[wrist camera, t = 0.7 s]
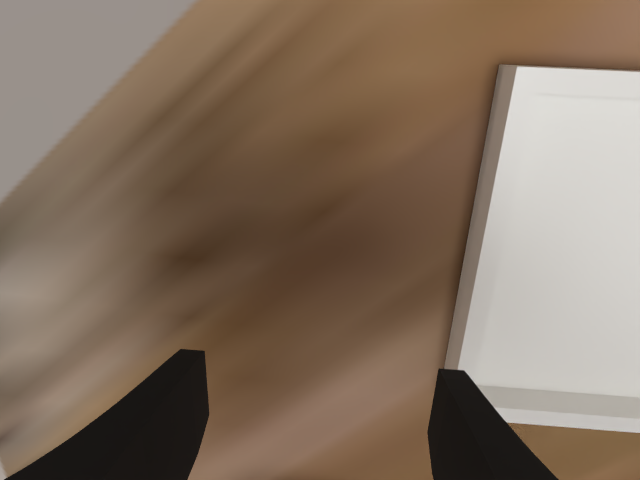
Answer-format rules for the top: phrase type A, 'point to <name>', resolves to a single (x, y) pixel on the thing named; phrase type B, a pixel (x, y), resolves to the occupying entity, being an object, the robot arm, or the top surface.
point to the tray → (556, 251)
